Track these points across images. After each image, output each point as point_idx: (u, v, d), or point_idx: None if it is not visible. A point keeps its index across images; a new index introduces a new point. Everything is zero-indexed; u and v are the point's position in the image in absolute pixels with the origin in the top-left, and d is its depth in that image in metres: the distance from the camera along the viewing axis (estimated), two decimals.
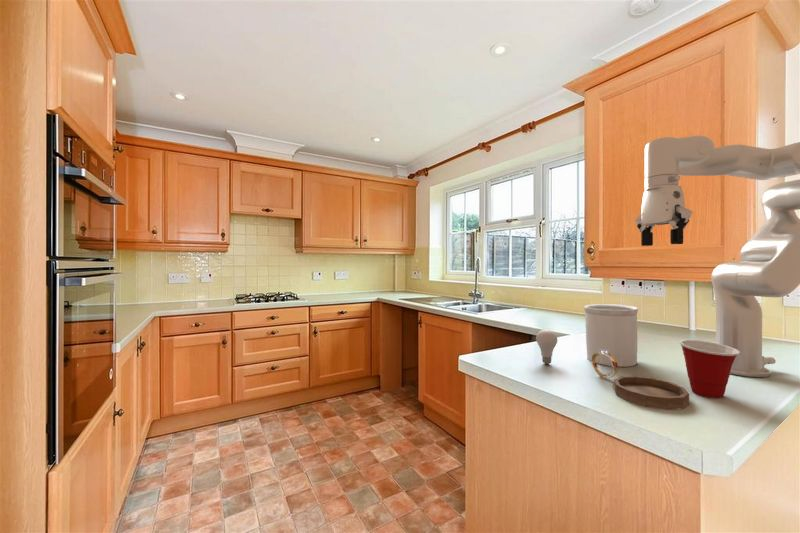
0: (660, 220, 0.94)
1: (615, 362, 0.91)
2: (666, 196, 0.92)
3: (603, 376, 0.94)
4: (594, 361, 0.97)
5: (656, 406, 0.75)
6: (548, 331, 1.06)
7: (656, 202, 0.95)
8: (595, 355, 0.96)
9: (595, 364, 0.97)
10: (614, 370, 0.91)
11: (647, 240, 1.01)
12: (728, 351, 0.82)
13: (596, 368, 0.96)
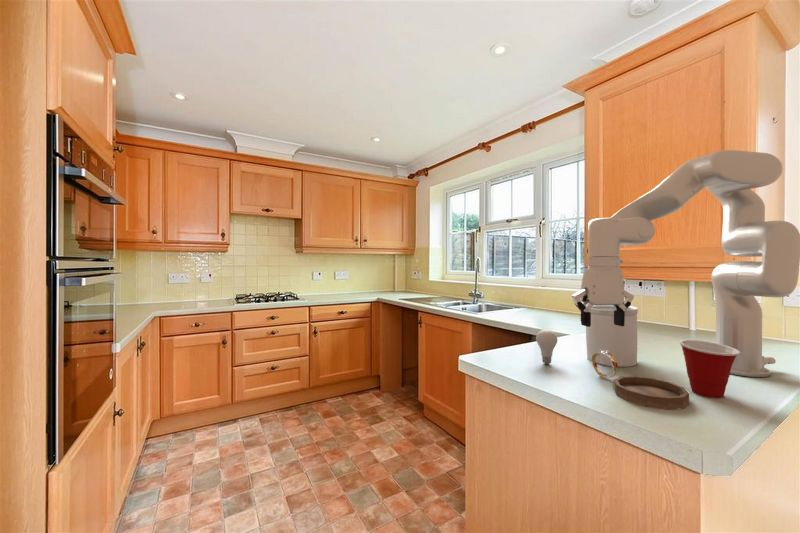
0: (614, 302, 0.92)
1: (615, 362, 0.91)
2: (622, 279, 0.92)
3: (603, 376, 0.94)
4: (594, 361, 0.97)
5: (656, 406, 0.75)
6: (548, 331, 1.06)
7: (613, 283, 0.91)
8: (595, 355, 0.96)
9: (595, 364, 0.97)
10: (614, 370, 0.91)
11: None
12: (728, 351, 0.82)
13: (596, 368, 0.96)
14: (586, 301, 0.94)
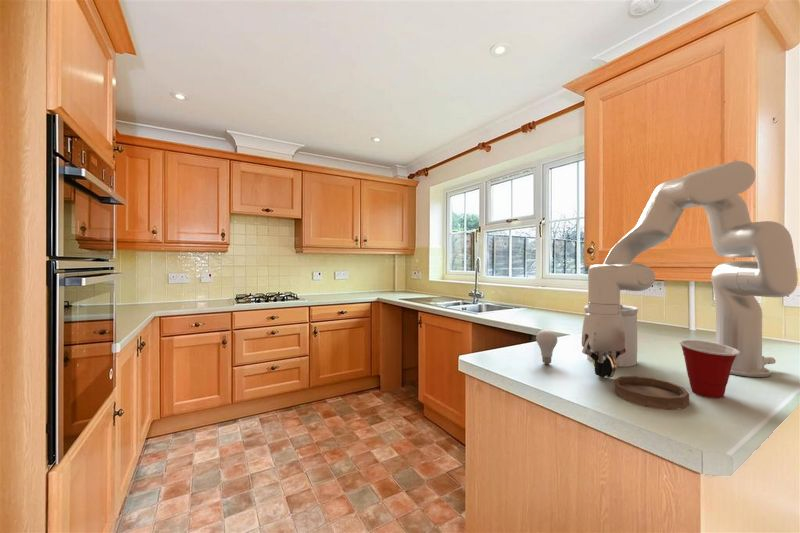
0: (616, 348, 0.92)
1: (614, 362, 0.91)
2: (623, 326, 0.92)
3: None
4: None
5: (656, 406, 0.75)
6: (548, 331, 1.06)
7: (614, 330, 0.92)
8: None
9: None
10: (612, 370, 0.91)
11: None
12: (728, 351, 0.82)
13: None
14: (594, 351, 0.94)
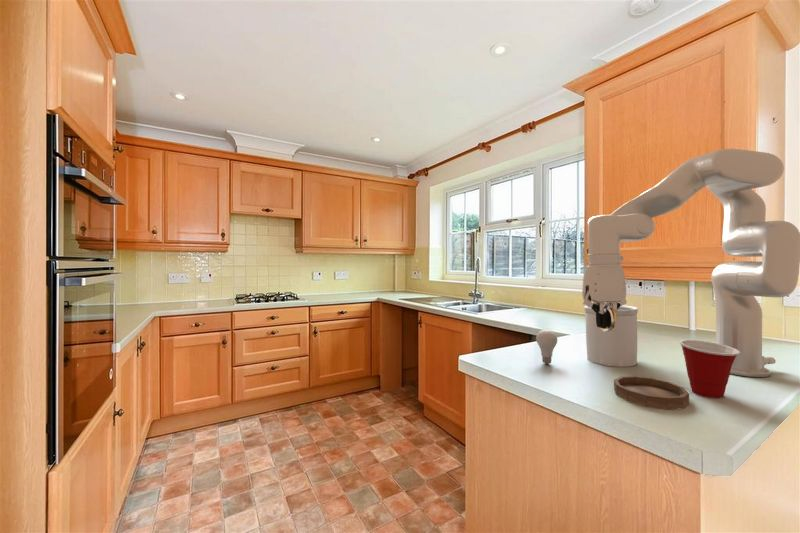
0: (616, 299, 0.92)
1: (614, 314, 0.91)
2: (623, 276, 0.92)
3: (604, 329, 0.94)
4: None
5: (656, 406, 0.75)
6: (548, 331, 1.06)
7: (614, 280, 0.91)
8: None
9: None
10: (612, 322, 0.91)
11: None
12: (728, 351, 0.82)
13: None
14: (595, 303, 0.94)
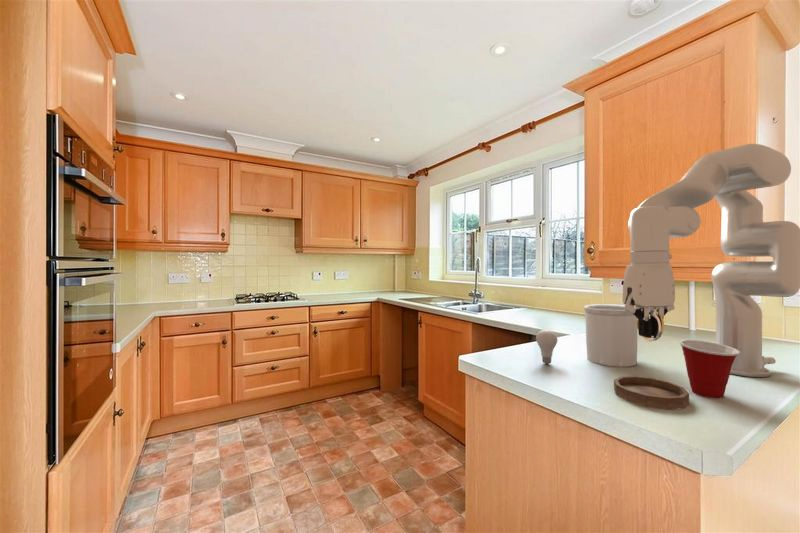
0: (664, 304, 0.79)
1: (661, 321, 0.78)
2: (672, 277, 0.79)
3: (647, 338, 0.81)
4: None
5: (656, 406, 0.75)
6: (548, 331, 1.06)
7: (662, 282, 0.79)
8: None
9: None
10: (659, 330, 0.78)
11: None
12: (728, 351, 0.82)
13: None
14: (638, 308, 0.81)
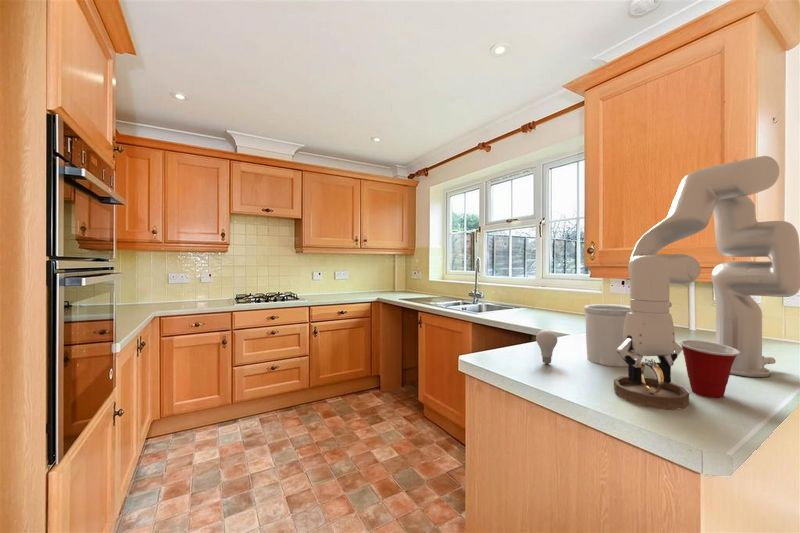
0: (664, 352, 0.79)
1: (661, 375, 0.78)
2: (672, 326, 0.79)
3: (648, 390, 0.82)
4: None
5: (656, 406, 0.75)
6: (548, 331, 1.06)
7: (662, 331, 0.79)
8: (640, 365, 0.83)
9: None
10: (659, 384, 0.78)
11: None
12: (728, 351, 0.82)
13: (642, 380, 0.84)
14: (633, 353, 0.81)
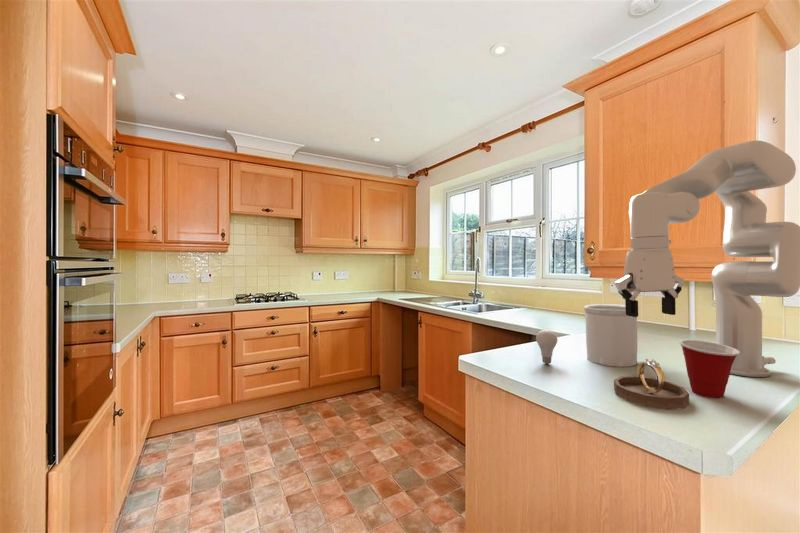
0: (664, 288, 0.81)
1: (661, 375, 0.78)
2: (672, 262, 0.81)
3: (648, 390, 0.82)
4: (640, 372, 0.84)
5: (656, 406, 0.75)
6: (548, 331, 1.06)
7: (662, 267, 0.80)
8: (640, 365, 0.83)
9: (641, 376, 0.84)
10: (659, 384, 0.78)
11: None
12: (728, 351, 0.82)
13: (642, 380, 0.84)
14: (631, 288, 0.83)
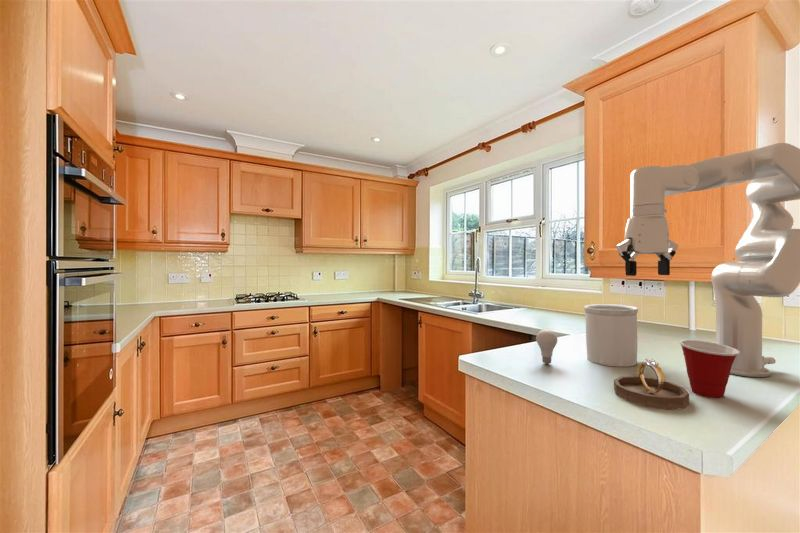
0: (660, 250, 0.92)
1: (661, 375, 0.78)
2: (667, 228, 0.92)
3: (648, 390, 0.82)
4: (640, 372, 0.84)
5: (656, 406, 0.75)
6: (548, 331, 1.06)
7: (658, 231, 0.91)
8: (640, 365, 0.83)
9: (641, 376, 0.84)
10: (659, 384, 0.78)
11: None
12: (728, 351, 0.82)
13: (642, 380, 0.84)
14: (631, 251, 0.94)
